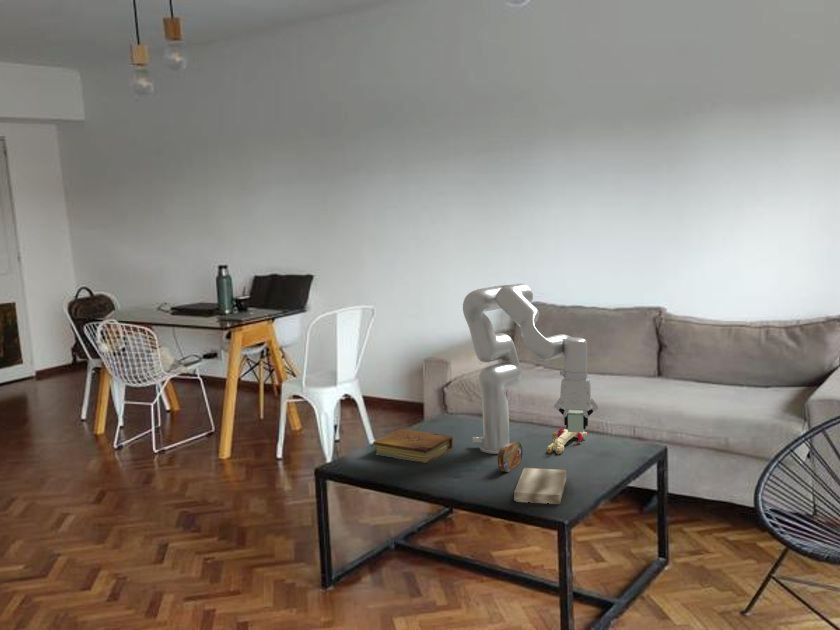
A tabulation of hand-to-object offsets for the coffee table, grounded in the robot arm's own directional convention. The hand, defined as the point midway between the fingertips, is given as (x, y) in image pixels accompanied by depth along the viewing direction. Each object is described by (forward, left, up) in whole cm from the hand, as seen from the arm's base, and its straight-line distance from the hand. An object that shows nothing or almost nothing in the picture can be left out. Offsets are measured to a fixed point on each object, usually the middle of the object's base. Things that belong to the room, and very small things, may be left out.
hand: (576, 427), depth 274 cm
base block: (-10, -19, -15) cm, 26 cm away
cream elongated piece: (-6, +28, -16) cm, 33 cm away
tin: (-23, 0, -16) cm, 28 cm away
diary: (-61, +12, -16) cm, 64 cm away
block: (0, 0, -1) cm, 1 cm away
